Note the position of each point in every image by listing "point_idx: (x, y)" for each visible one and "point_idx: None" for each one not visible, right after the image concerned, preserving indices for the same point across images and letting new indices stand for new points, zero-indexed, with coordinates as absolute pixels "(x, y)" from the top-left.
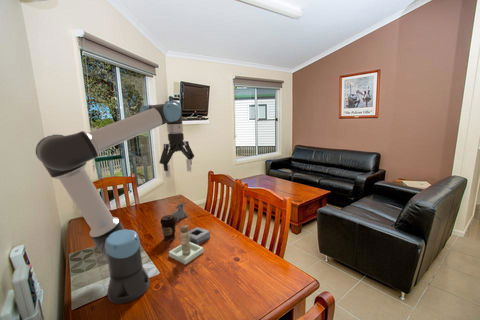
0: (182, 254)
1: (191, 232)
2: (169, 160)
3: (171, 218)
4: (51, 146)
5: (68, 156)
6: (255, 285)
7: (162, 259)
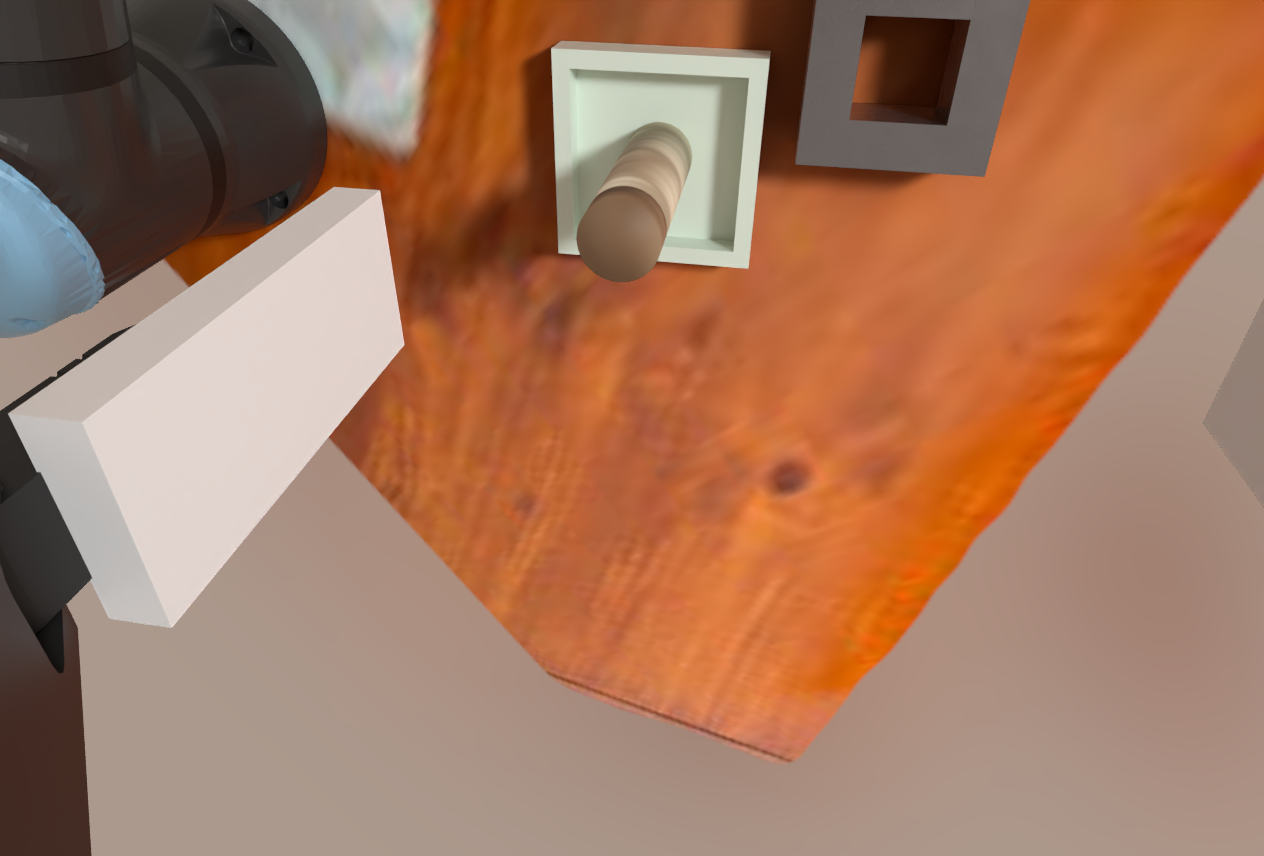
0: (627, 141)
1: (885, 14)
2: (78, 779)
3: None
4: None
5: None
6: (653, 614)
7: (503, 25)
